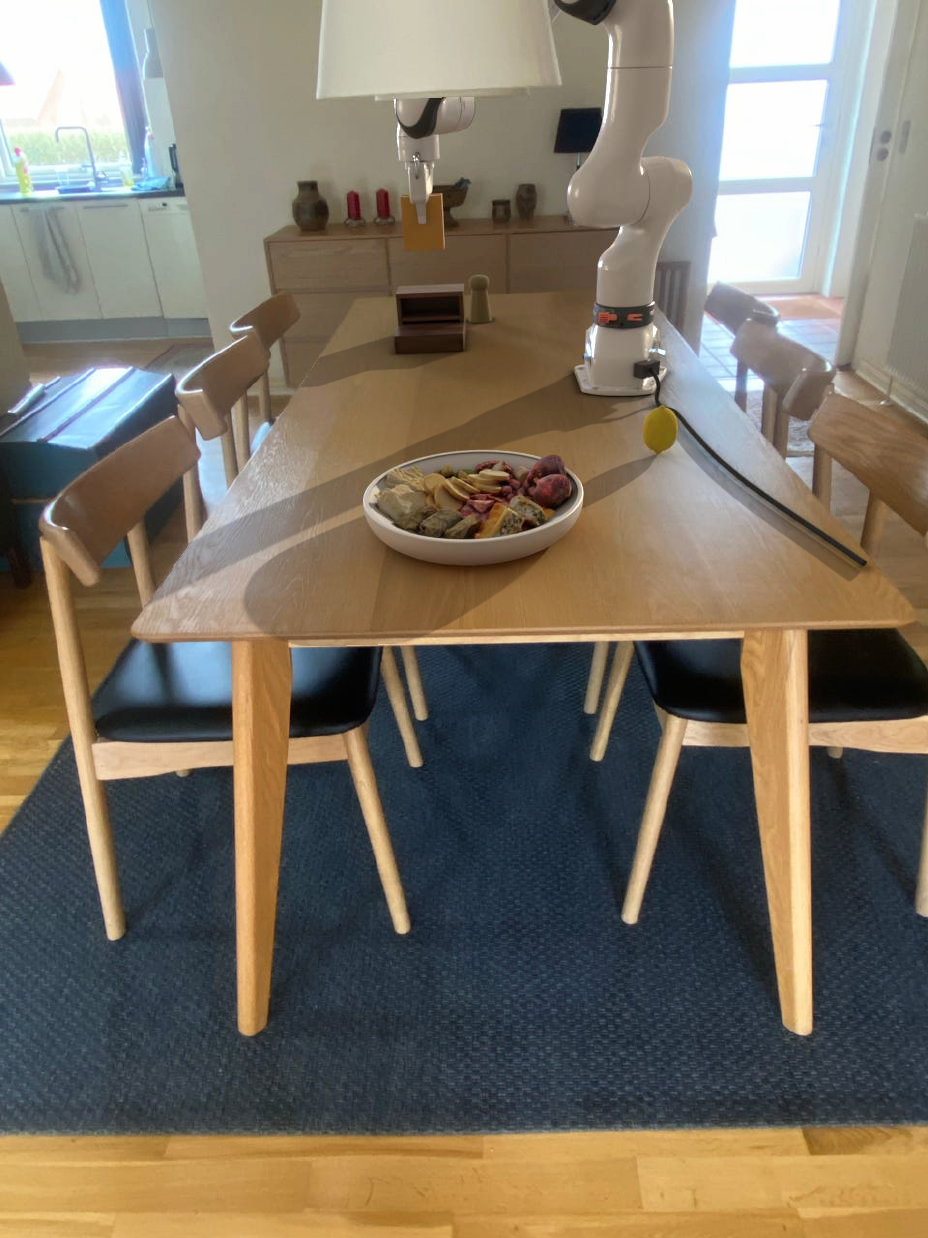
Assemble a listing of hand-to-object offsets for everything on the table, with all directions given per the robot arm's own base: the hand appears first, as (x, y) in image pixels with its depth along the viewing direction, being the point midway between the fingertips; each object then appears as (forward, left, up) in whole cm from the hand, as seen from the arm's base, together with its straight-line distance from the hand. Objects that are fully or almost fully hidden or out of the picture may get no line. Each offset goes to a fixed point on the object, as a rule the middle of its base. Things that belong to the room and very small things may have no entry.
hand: (423, 221), depth 184 cm
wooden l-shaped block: (+1, 0, -26) cm, 26 cm away
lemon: (-67, -54, -27) cm, 90 cm away
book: (0, 0, -6) cm, 6 cm away
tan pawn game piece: (+22, -8, -27) cm, 35 cm away
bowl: (-95, -29, -27) cm, 103 cm away
